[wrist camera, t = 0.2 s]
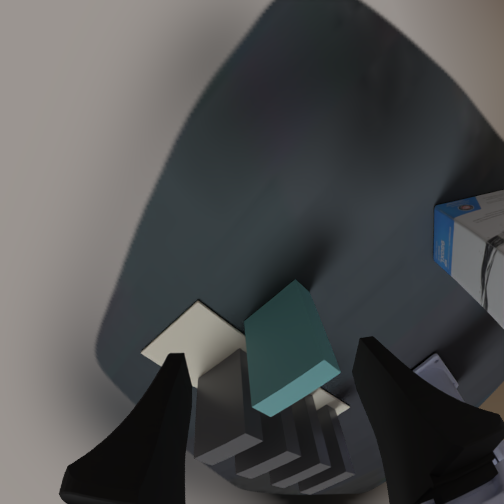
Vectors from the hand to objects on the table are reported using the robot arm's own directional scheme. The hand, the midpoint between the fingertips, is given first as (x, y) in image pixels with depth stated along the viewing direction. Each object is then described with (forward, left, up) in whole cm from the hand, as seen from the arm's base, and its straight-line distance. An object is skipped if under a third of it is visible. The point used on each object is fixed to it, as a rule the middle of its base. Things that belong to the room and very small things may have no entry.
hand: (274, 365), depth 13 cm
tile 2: (-6, +9, -10) cm, 14 cm away
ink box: (-11, -14, -10) cm, 20 cm away
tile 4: (-14, +9, -10) cm, 19 cm away
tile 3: (-10, +9, -10) cm, 16 cm away
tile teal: (-4, +2, -10) cm, 11 cm away
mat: (-10, +9, -10) cm, 16 cm away
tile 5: (-18, +9, -10) cm, 22 cm away
